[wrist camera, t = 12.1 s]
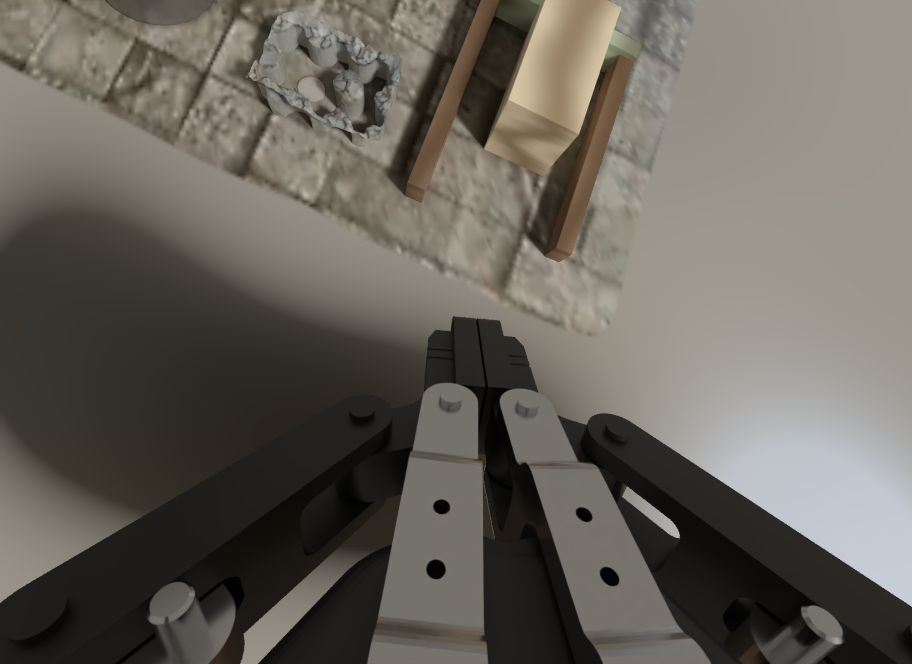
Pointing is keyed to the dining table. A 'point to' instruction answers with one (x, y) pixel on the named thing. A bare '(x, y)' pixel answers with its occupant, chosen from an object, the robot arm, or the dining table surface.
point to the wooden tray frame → (519, 8)
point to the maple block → (552, 82)
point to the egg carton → (325, 53)
